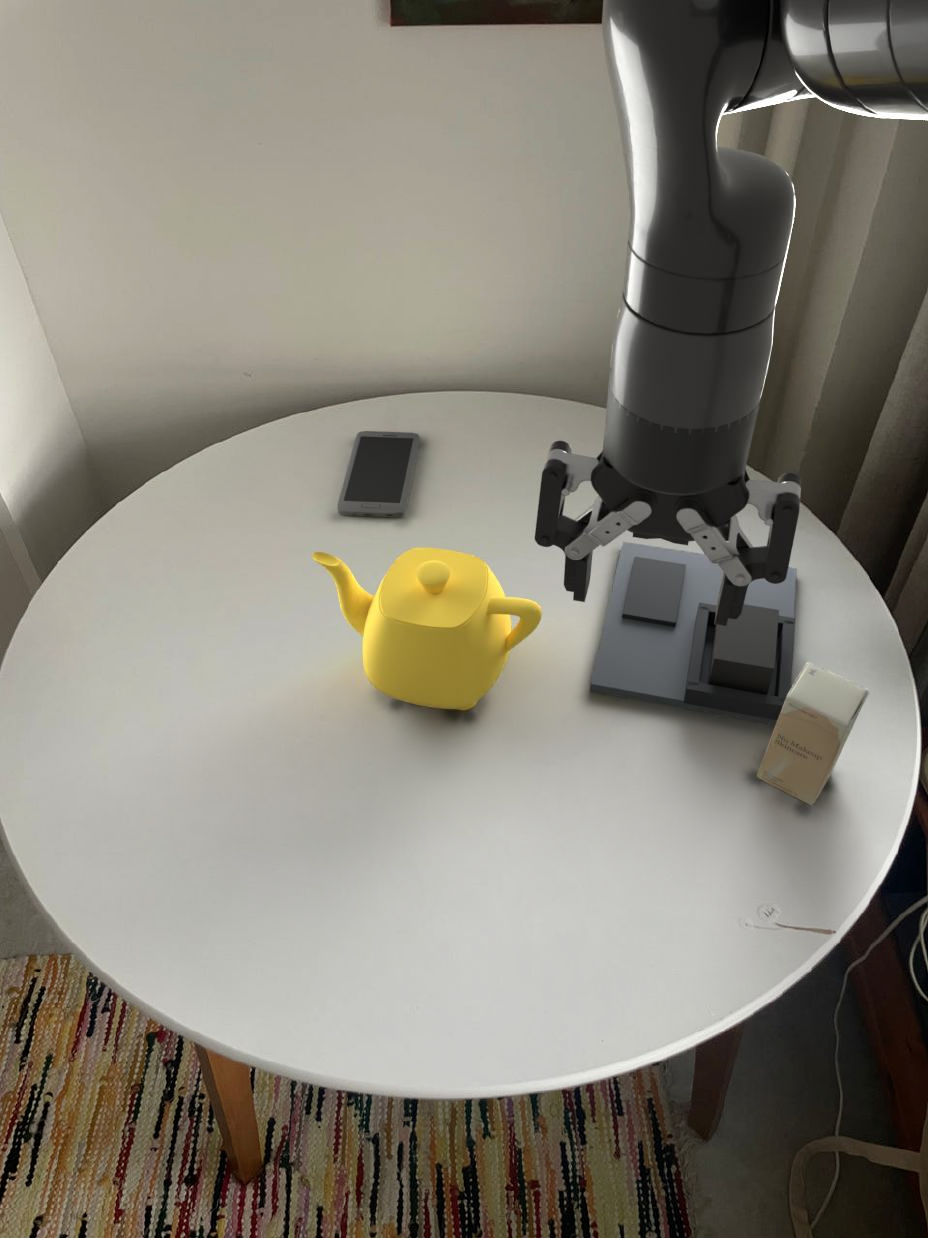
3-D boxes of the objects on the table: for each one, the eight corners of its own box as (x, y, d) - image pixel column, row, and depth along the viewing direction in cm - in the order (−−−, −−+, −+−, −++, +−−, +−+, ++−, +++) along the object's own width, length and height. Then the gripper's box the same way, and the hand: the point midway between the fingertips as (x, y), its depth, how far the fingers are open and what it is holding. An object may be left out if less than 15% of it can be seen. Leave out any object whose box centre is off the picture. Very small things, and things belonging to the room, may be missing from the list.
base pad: (794, 575, 101) (801, 553, 98) (784, 729, 88) (792, 708, 86) (622, 548, 104) (624, 526, 102) (588, 693, 91) (591, 671, 89)
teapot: (352, 597, 100) (337, 499, 91) (553, 631, 96) (558, 534, 87) (303, 702, 92) (281, 606, 82) (522, 745, 88) (524, 649, 79)
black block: (769, 643, 93) (779, 609, 90) (764, 702, 89) (775, 669, 86) (713, 634, 94) (721, 600, 91) (706, 692, 90) (714, 658, 87)
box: (754, 777, 85) (781, 693, 77) (776, 742, 87) (804, 657, 79) (815, 809, 83) (849, 726, 75) (836, 772, 85) (871, 687, 77)
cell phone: (336, 515, 108) (335, 510, 108) (357, 434, 118) (357, 429, 117) (405, 518, 108) (404, 513, 107) (421, 437, 117) (420, 431, 117)
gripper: (529, 403, 50) (523, 628, 62) (833, 443, 47) (766, 670, 59) (559, 321, 55) (548, 545, 67) (836, 353, 52) (773, 580, 64)
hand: (650, 603), depth 63 cm, fingers open, 8 cm apart
